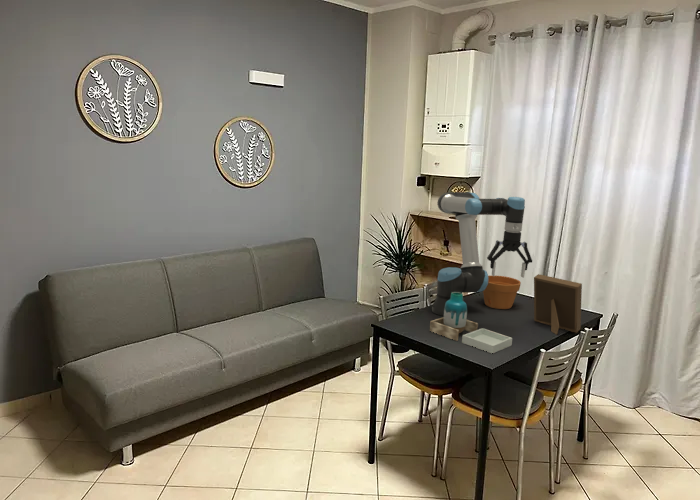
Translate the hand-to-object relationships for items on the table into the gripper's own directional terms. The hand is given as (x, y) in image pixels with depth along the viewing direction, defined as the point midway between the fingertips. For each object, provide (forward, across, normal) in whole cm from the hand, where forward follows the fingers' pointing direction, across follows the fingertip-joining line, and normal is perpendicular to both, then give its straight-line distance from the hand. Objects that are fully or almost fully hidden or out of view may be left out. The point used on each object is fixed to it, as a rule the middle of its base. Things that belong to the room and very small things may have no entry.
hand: (507, 276), depth 244 cm
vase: (+28, -23, -3) cm, 37 cm away
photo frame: (+28, +27, +9) cm, 40 cm away
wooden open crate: (+28, -23, -3) cm, 36 cm away
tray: (+28, -11, -16) cm, 34 cm away
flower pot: (+29, +9, +44) cm, 53 cm away
